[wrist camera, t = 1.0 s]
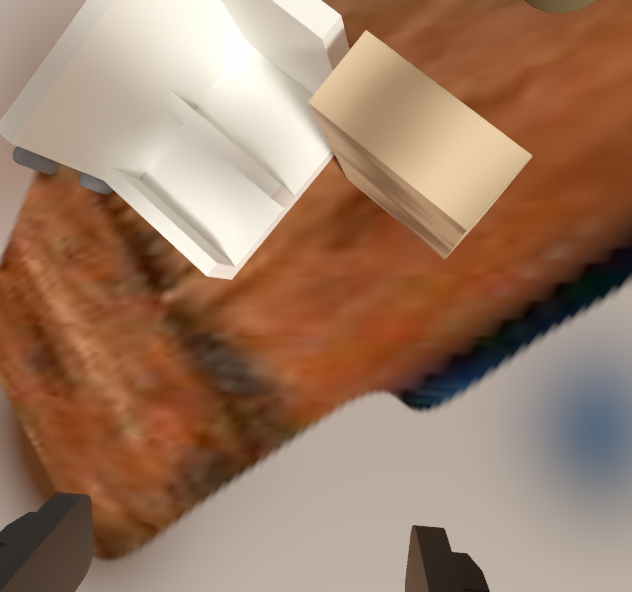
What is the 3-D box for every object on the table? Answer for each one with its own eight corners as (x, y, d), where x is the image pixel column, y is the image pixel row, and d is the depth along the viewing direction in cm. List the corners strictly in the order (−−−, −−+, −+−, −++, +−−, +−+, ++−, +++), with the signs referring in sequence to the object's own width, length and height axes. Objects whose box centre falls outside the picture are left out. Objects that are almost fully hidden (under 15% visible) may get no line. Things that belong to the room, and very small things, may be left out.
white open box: (365, 116, 31) (341, 15, 20) (221, 291, 32) (126, 285, 22) (250, 25, 32) (168, -115, 21) (118, 195, 34) (-18, 145, 23)
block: (483, 215, 29) (532, 155, 17) (444, 259, 30) (466, 230, 18) (383, 135, 30) (365, 30, 19) (347, 179, 31) (307, 102, 19)
